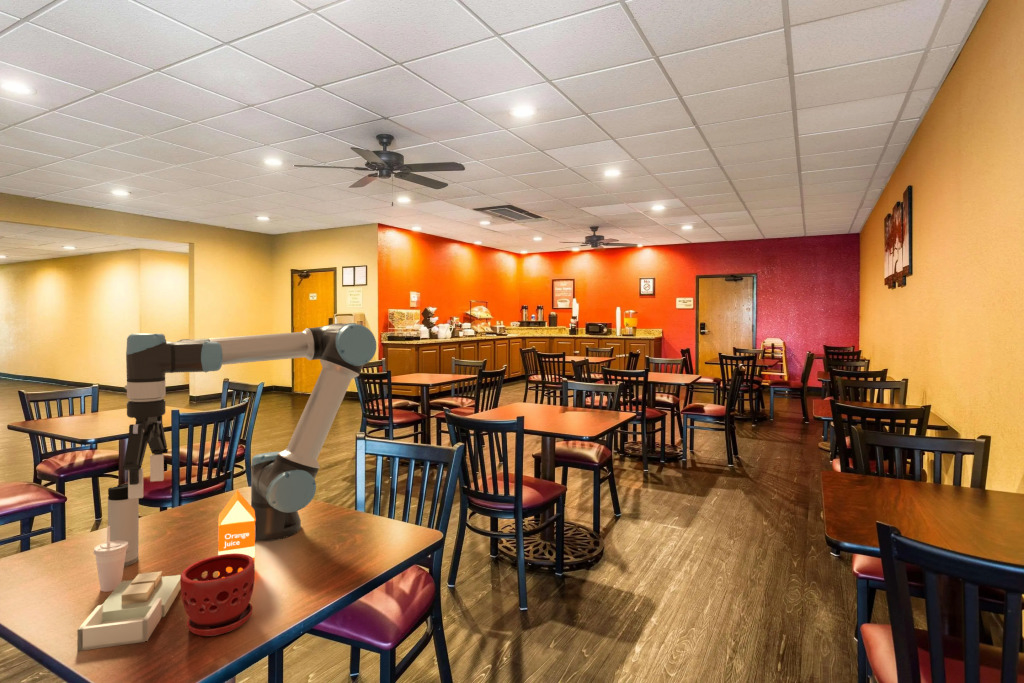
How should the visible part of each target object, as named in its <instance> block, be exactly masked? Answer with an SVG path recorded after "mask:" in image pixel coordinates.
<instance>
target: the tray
mask: <svg viewBox="0 0 1024 683" xmlns="http://www.w3.org/2000/svg"><path fill="white" fill-rule="evenodd" d="M162 618H163V617H162V598H157V599H156V601H155V603H154V604H153V606H152V607H151V609H150V610H149V612H148V613H147V615H146V616H145V617H139V618H131V619H123V620H115V621H107V622H103V605H102V604H98V605H97V606H96V607H95V608H94V609H93V610H92V612H91V613H90V614H89V615H88V616H87V618H86V619H85V620H84V621H83V623H82V624H81V625H80V626H79V627H78V628H77V631H76V632H77V634H76V635H77V641H76V642H77V643H76V644H77V646H76V648H77V652H80V651H81V652H82V651H89V650H97V649H102V648H103V649H105V648H109V647H110V648H111V647H117V646H123V645H124V646H125V645H132V644H138V643H146V642H145V641H147V642H148V641H149V639H150V637H151V636H152V634H153V632H154V631H155V629H156V628H157V625H158V624H159V623H160V621H161V619H162Z"/></svg>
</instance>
